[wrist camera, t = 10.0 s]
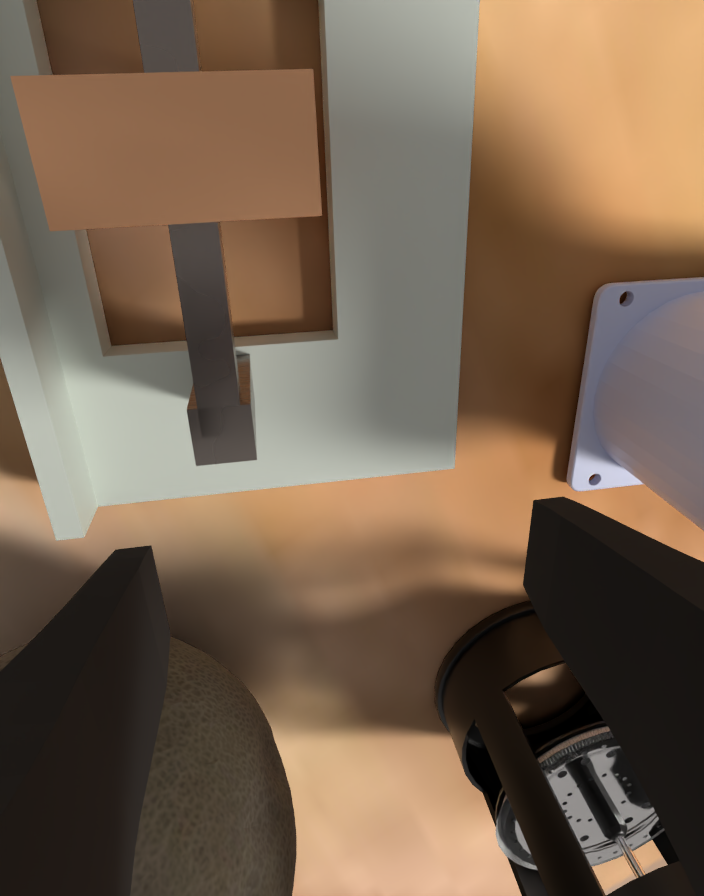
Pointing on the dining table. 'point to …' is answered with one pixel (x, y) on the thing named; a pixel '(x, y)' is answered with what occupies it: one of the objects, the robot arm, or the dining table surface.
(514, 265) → the dining table surface
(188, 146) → the peach u-shaped bracket
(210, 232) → the hook arm
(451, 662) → the french press
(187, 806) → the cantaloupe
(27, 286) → the grey base plate
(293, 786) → the dining table surface
